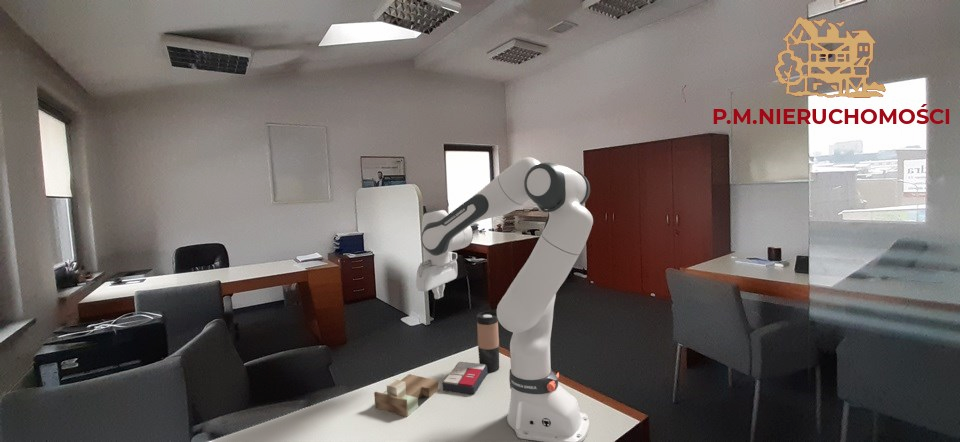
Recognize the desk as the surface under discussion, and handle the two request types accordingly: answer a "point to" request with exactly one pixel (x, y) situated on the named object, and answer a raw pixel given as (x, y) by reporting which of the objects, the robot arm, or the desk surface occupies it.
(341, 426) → the desk surface
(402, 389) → the block
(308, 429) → the desk surface
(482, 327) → the travel mug
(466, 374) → the red and grey box
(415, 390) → the stacked wooden blocks
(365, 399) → the desk surface
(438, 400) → the desk surface
